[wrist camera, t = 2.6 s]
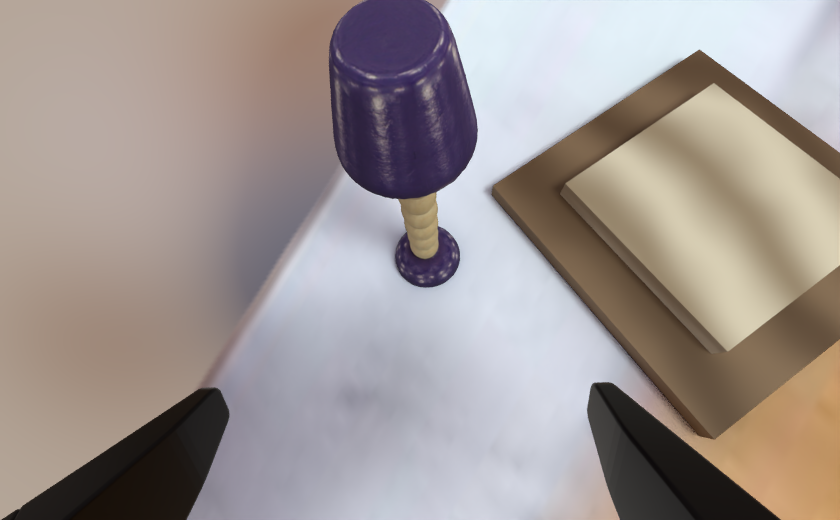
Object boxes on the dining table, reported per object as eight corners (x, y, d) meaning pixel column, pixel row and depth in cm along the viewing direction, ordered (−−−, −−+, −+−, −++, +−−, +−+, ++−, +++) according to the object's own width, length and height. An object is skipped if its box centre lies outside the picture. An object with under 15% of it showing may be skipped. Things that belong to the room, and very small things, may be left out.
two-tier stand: (699, 436, 20) (732, 443, 17) (491, 194, 25) (494, 175, 23) (934, 249, 21) (993, 232, 19) (689, 63, 27) (711, 32, 25)
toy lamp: (467, 226, 25) (480, -49, 9) (469, 293, 23) (489, 105, 8) (397, 228, 25) (292, -29, 10) (394, 294, 24) (267, 119, 8)
